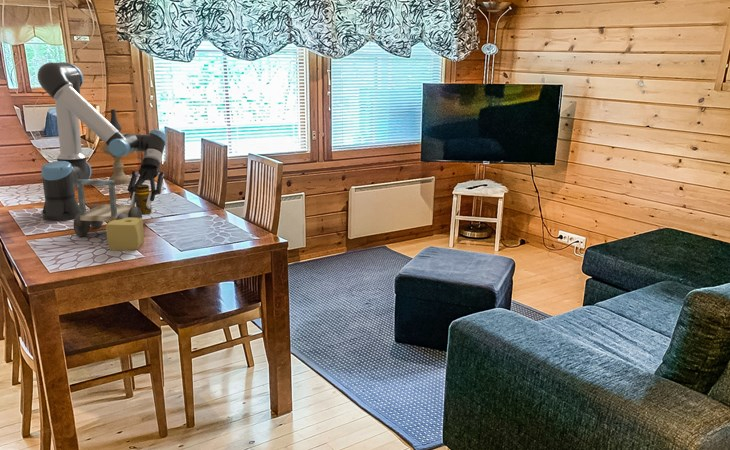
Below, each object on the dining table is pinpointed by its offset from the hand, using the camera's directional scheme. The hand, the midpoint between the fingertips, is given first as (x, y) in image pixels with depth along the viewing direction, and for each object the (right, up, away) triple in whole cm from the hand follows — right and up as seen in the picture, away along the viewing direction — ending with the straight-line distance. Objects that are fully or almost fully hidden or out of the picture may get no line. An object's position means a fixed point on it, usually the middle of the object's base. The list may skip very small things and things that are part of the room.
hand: (140, 206), depth 239 cm
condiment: (-1, -3, +5) cm, 5 cm away
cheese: (+5, -16, -25) cm, 30 cm away
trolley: (-9, -10, -9) cm, 16 cm away
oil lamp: (-43, +16, +80) cm, 92 cm away
